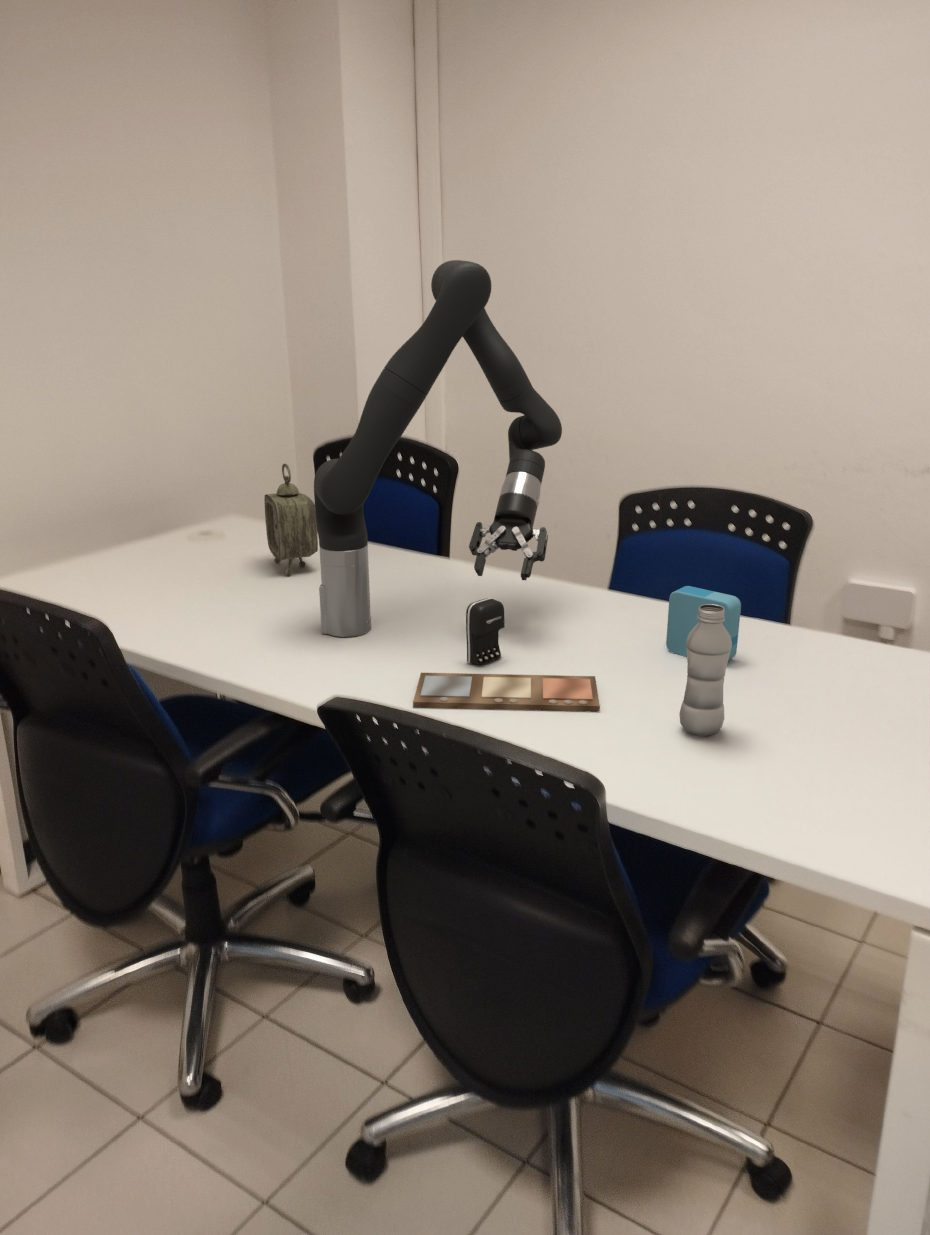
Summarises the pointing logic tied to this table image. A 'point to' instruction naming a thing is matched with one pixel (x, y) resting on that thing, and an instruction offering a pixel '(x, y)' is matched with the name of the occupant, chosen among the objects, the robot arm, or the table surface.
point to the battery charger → (484, 631)
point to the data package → (685, 616)
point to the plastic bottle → (706, 672)
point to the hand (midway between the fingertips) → (501, 576)
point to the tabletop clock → (290, 523)
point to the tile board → (507, 692)
